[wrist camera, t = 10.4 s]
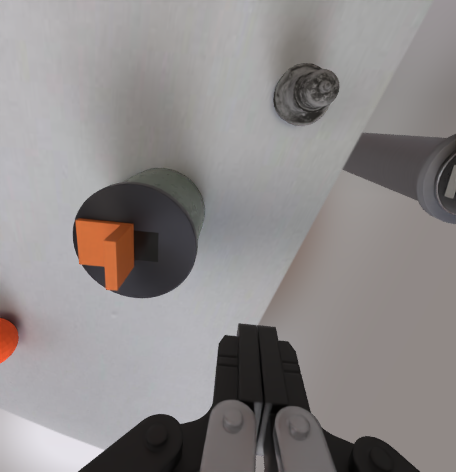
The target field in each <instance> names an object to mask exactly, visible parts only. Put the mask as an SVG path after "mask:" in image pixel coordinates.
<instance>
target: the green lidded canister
mask: <svg viewBox="0 0 456 472" xmlns="http://www.w3.org/2000/svg"><path fill="white" fill-rule="evenodd" d="M204 215H205V209H204V203H203V199H202V196H201V194H200V192H199V190H198V189H197V187H196V186H195V185H194V184H193V183H192V181H191V180H189V179H188V178H187V177H186V176H184V175H182V174H181V173H179V172H176V171H174V170H170V169H165V168H154V169H149V170H146V171H143V172H141V173H139V174H137V175H135V176H133V177H131V178H130V179H128V180H126V181H124V182H122V183H117V184H113V185H110V186H107V187H105V188H103V189H101V190H99V191H97V192H96V193H94V194H93V195H92V196H90V197H89V198H88V199H87V200H86V201H85V202H84V203H83V205H82V206H81V208H80V209H79V211H78V213H77V215H76V218H75V222H74V226H73V242H74V248H75V251H76V254H77V256H78V259H79V255H78V244H77V232H76V220H77V219H78V218H81V219H91V220H101V221H111V222H121V223H131V224H134V268H133V269H132V270H131V272H130V273H129V275H128V276H127V278H126V279H125V281H124V282H123V283H122V285H121V286H120V288H119V289H118V290H117V291H116V290H110V291H112V292H115V293H117V294H120V295H123V296H127V297H133V298H151V297H156V296H160V295H163V294H165V293H168V292H170V291H172V290H173V289H175V288H176V287H178V286H179V285H180V284H181V283H182V282H183V281H184V280H185V279H186V278H187V276H188V275H189V273H190V272H191V270H192V267H193V265H194V262H195V259H196V255H197V248H198V238H199V234H200V231H201V228H202V224H203V221H204ZM82 266H83V267H84V269H85V270H86V271H87V273H88V274H89V275H90V276H91V277H92V278H93V279H94V280H95V281H97V282H98V283H99V284H100V285H102V286H103V287H105V288H106V283H105V267H103V266H92V265H82Z"/></svg>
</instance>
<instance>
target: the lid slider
mask: <svg viewBox="0 0 456 472" xmlns="http://www.w3.org/2000/svg"><path fill="white" fill-rule="evenodd" d="M76 232H77V244H78V255H79V264H82V265H92V266H103V267H105V283H106V290H116V291H117V290H118V289H119V288H120V286H121V285H122V283H123V282H124V281H125V279H126V278H127V276H128V275H129V273H130V272H131V270H132V269H133V268H134V224H131V223H121V222H111V221H101V220H91V219H81V218H78V219H77V220H76Z"/></svg>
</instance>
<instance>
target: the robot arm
mask: <svg viewBox="0 0 456 472" xmlns="http://www.w3.org/2000/svg"><path fill="white" fill-rule="evenodd" d="M434 196H435V199H436V201H437V203H438V205H439V206H440V207H441V208H442V209H443V210H445V211H446V212H448V213H450V214H453V215H456V151H455V152H453V153H452V154H451V155H450V156H449V157H448V158H447V159H446V160H445V161H444V162H443V164H442V165H441V167H440V168H439V170H438V172H437V175H436V177H435V181H434ZM256 455H259V456H264V466H265V467H264V468H265V470H264V472H420V471H419V470H418V469H416V468H415V467H414V466H413V465H412V464H411V463H409V462H408V461H407V460H406V459H405V458H404V457H403V456H402V455H400V454H399V453H398V452H397V451H396V450H395V449H393V448H392V447H391V446H390V445H389V444H387V443H385V442H384V441H382V440H380V439H377V438H375V437H370V436H365V437H361V438H359V439H358V440H357V441H356V442H355V444H353V443H350V442H348V441H346V440H343V439H341V438H338V437H336V436H334V435H332V434H330V433H328V432H327V431H326V430H324V429H323V428H322V427H321V425H320V423H319V422H318V420H317V419H316V418H315V416H314V415H313V414H311V411H310V408H309V404H308V400H307V396H306V392H305V388H304V384H303V380H302V375H301V373H300V367H299V365H298V360H297V356H296V351H295V350H294V349H293V347H292V346H291V345H290V344H289V342H287V341H278V336H277V331H276V327H270V326H260V325H257V326H256V325H249V324H240V323H239V324H238V330H237V336H228V335H225V336H224V337H223V339H222V340H221V341H220V343H219V347H218V356H217V366H216V375H215V386H214V396H213V404H212V406H211V408H210V410H209V411H208V412H207V413H206V414H205V415H204V416H203V417H201V418H200V419H198V420H195V421H192V422H188V423H184V424H180V423H179V422H178V421H177V420H176V419H175V418H173V417H172V416H169V415H165V414H156V415H152V416H150V417H148V418H146V419H144V420H143V421H141V422H140V423H139V424H138V425H136V426H135V427H134V428H133V429H131V430H130V431H129V432H128V433H126V434H125V435H124V436H122V437H121V438H120V439H119V440H117V441H116V442H115V443H114V444H112V445H111V446H110V447H109V448H107V449H106V450H105V451H104V452H102V453H101V454H100V455H98V456H97V457H96V458H95V459H93V460H92V461H91V462H90V463H88V464H87V465H86V466H85V467H83V468H82V469H81V470H80V471H78V472H255V466H256Z"/></svg>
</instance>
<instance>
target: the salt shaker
mask: <svg viewBox="0 0 456 472" xmlns="http://www.w3.org/2000/svg"><path fill="white" fill-rule="evenodd" d="M338 92H339V81H338V78H337V76H336V75H335V74H334V73H333V72H332V71H329V70H327V69H321V68H320V67H319V66H316V65H314V64H308V63H303V64H299V65H296V66H294V67H292V68H290V69H289V70H288V71H287V72H286V73H284V74H283V76H282V77H281V79H280V80H279V82H278V85H277V87H276V90H275V93H274V99H273V100H274V107H275V110H276V112H277V113H278V115H279V116H280V117H281V118H282V119H283V120H285V121H287V122H288V123H291V124H293V125H298V126H304V125H309V124H312V123H314V122H316V121H317V120H318V119H320V118H321V117H322V116H323V115H324V113H325V112H326V111H327V109H328V107H329V105H330V103H331V102H332V101H333V100H334V99H335V98H336V96H337V94H338Z"/></svg>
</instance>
